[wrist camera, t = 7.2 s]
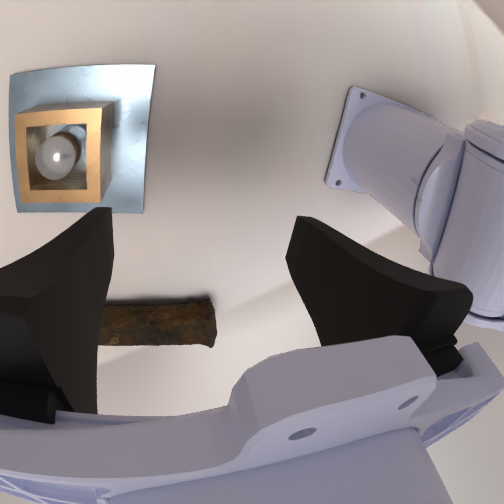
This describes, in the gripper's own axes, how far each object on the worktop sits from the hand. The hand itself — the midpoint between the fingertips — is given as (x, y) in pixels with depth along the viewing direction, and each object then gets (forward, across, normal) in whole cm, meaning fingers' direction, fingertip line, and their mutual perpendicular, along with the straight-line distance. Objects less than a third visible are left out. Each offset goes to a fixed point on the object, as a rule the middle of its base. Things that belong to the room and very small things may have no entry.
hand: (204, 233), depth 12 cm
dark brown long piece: (+10, +6, +14) cm, 19 cm away
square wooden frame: (+9, +8, -1) cm, 12 cm away
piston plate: (+10, +8, -1) cm, 13 cm away
